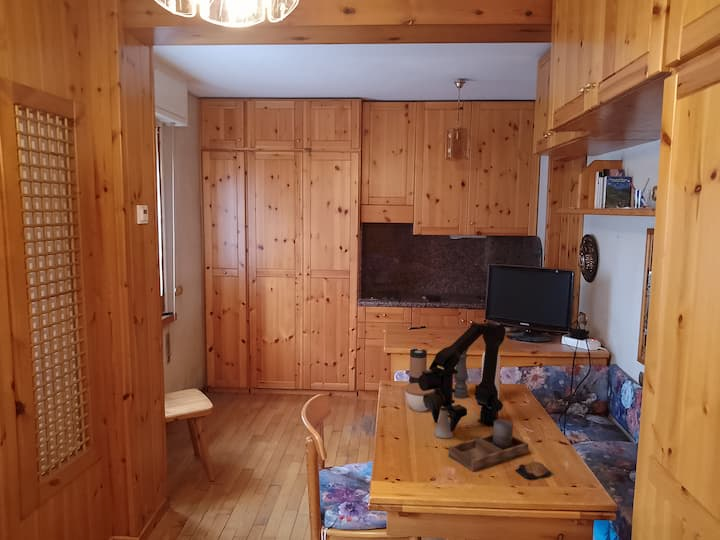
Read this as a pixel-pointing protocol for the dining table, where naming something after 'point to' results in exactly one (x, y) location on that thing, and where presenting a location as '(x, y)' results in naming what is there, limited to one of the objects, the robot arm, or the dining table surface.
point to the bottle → (497, 377)
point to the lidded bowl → (416, 397)
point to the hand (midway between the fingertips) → (443, 427)
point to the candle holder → (461, 378)
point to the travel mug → (417, 364)
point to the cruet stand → (489, 448)
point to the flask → (443, 425)
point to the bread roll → (533, 471)
